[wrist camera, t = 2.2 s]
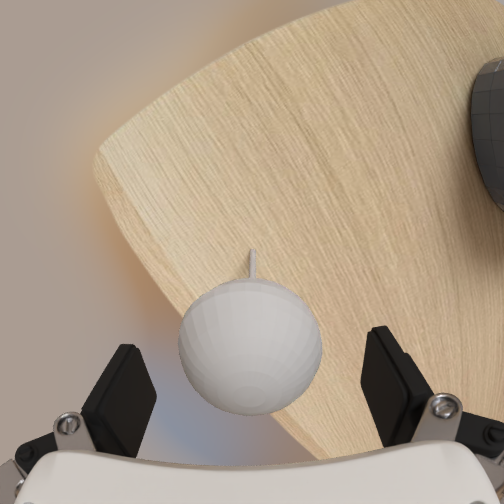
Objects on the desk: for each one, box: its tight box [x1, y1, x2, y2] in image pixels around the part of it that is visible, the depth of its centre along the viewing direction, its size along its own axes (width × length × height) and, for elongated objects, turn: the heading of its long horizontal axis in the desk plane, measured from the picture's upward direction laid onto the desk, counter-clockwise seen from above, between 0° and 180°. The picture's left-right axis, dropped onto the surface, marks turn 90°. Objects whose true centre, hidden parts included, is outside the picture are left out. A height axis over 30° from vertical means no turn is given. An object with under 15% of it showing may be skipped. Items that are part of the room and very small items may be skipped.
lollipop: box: [178, 249, 322, 416], centre depth 16 cm, size 6×6×15 cm
